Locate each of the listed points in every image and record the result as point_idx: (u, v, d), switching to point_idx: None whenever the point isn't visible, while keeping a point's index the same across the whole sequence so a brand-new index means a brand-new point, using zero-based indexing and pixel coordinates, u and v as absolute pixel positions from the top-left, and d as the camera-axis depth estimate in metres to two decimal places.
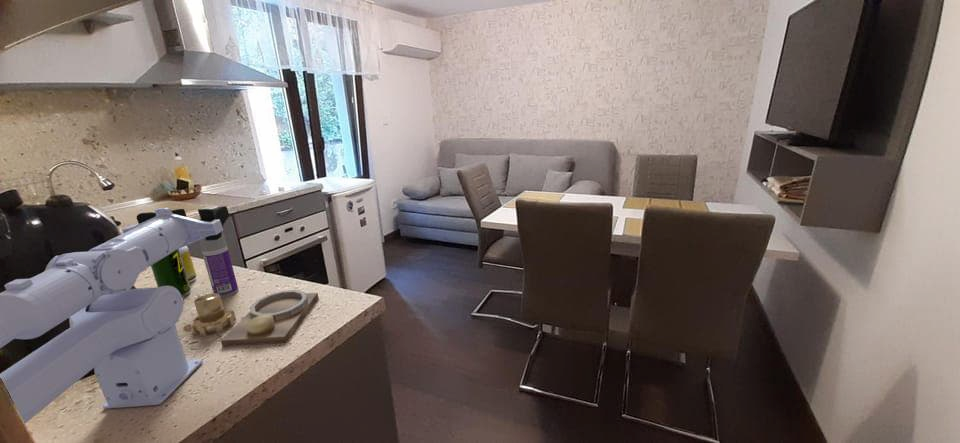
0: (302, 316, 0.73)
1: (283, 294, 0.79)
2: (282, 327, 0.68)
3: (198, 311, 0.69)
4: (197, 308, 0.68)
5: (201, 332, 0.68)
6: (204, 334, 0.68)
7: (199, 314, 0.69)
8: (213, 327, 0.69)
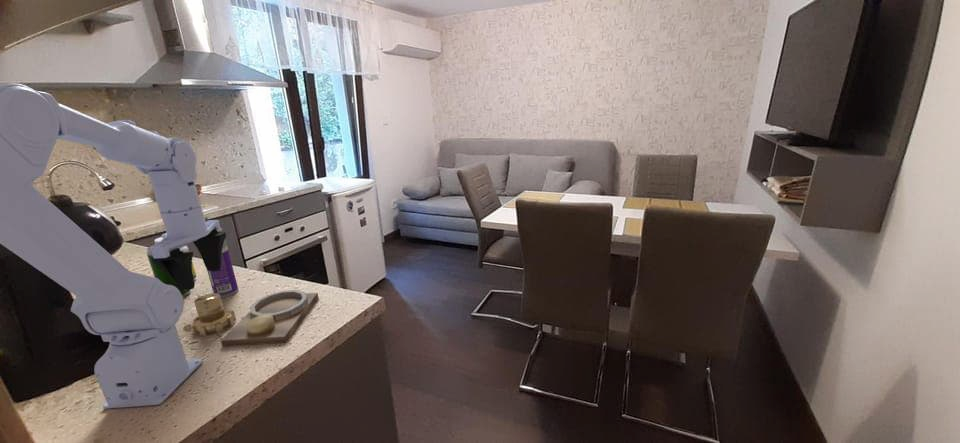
0: (302, 316, 0.73)
1: (283, 294, 0.79)
2: (282, 327, 0.68)
3: (198, 311, 0.69)
4: (197, 308, 0.68)
5: (201, 332, 0.68)
6: (204, 334, 0.68)
7: (199, 314, 0.69)
8: (213, 327, 0.69)
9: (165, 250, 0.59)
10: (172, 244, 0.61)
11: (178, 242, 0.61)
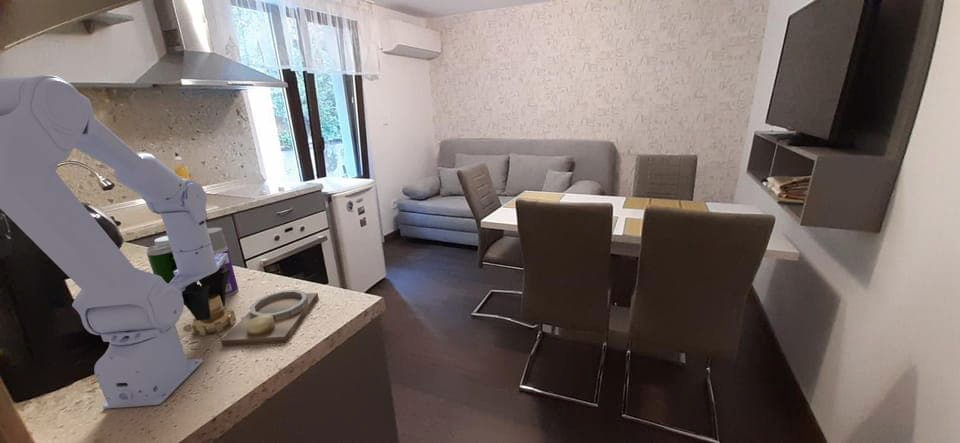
0: (302, 316, 0.73)
1: (283, 294, 0.79)
2: (282, 327, 0.68)
3: None
4: None
5: (201, 332, 0.68)
6: (204, 334, 0.68)
7: None
8: (212, 327, 0.69)
9: (177, 289, 0.61)
10: (184, 283, 0.63)
11: (190, 280, 0.64)
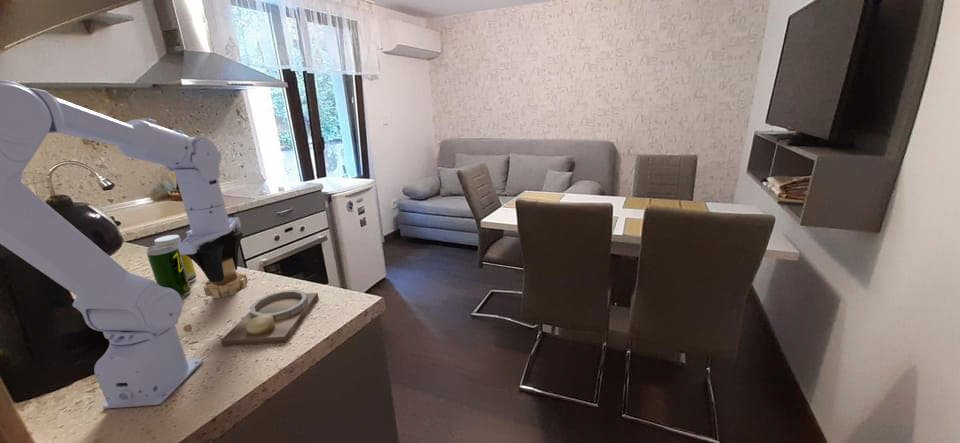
0: (302, 316, 0.73)
1: (283, 294, 0.79)
2: (282, 327, 0.68)
3: None
4: None
5: (214, 293, 0.67)
6: (217, 296, 0.67)
7: None
8: (226, 289, 0.68)
9: (192, 246, 0.61)
10: (199, 241, 0.62)
11: (204, 239, 0.63)
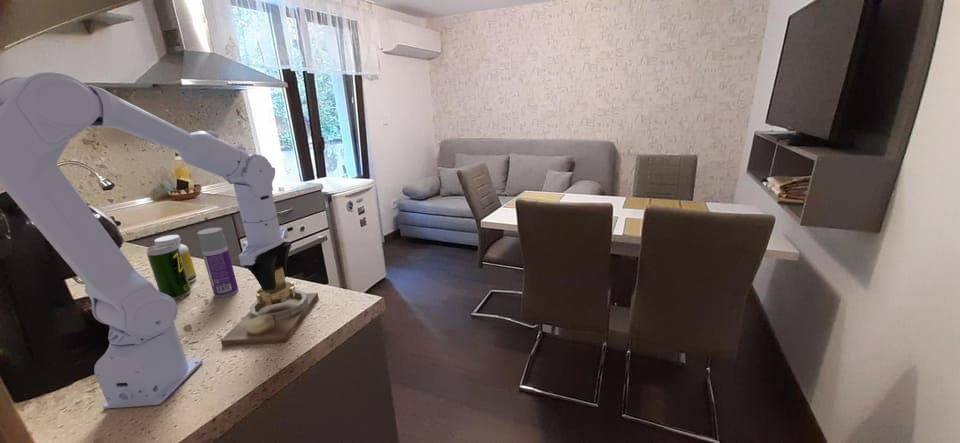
0: (302, 316, 0.73)
1: None
2: (282, 327, 0.68)
3: None
4: None
5: (267, 301, 0.71)
6: (270, 303, 0.71)
7: None
8: (277, 297, 0.71)
9: (251, 257, 0.64)
10: (256, 252, 0.65)
11: (261, 250, 0.66)
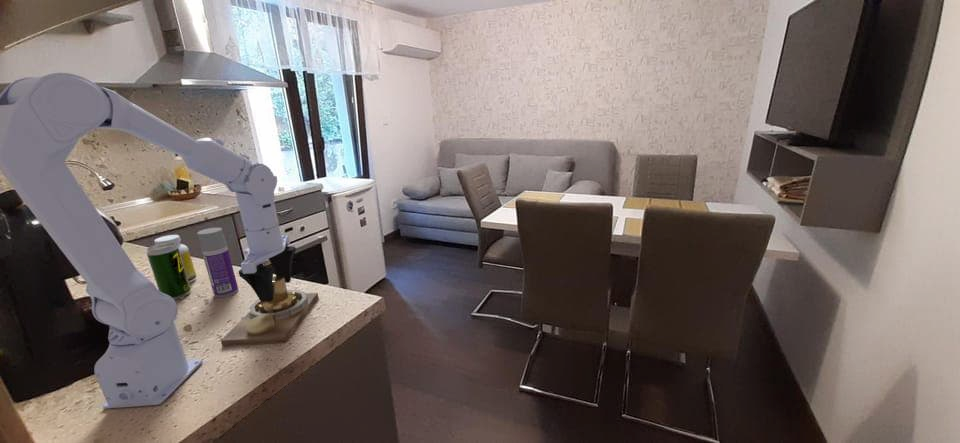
0: (302, 316, 0.73)
1: None
2: (282, 327, 0.68)
3: None
4: None
5: (269, 312, 0.71)
6: None
7: None
8: (280, 308, 0.72)
9: (253, 266, 0.65)
10: (258, 260, 0.66)
11: (263, 258, 0.67)
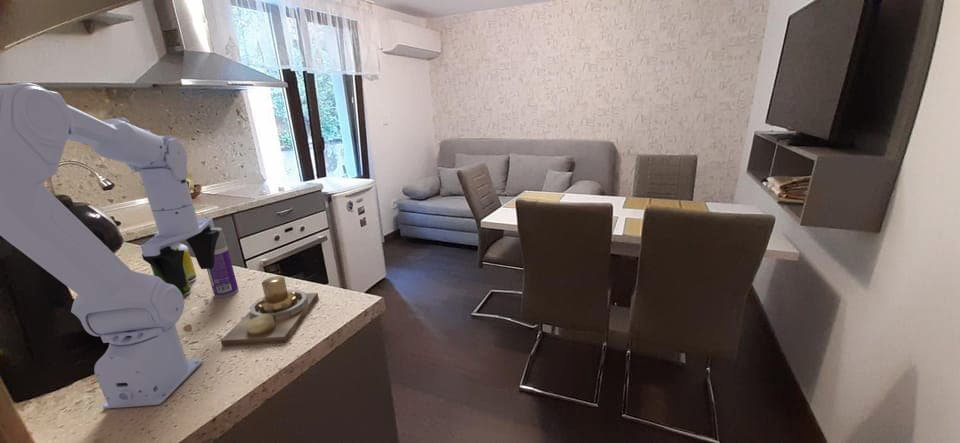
0: (302, 316, 0.73)
1: None
2: (282, 327, 0.68)
3: (266, 292, 0.72)
4: (265, 289, 0.72)
5: (269, 312, 0.71)
6: None
7: (267, 295, 0.72)
8: (280, 308, 0.72)
9: (155, 248, 0.59)
10: (162, 242, 0.60)
11: (169, 240, 0.61)
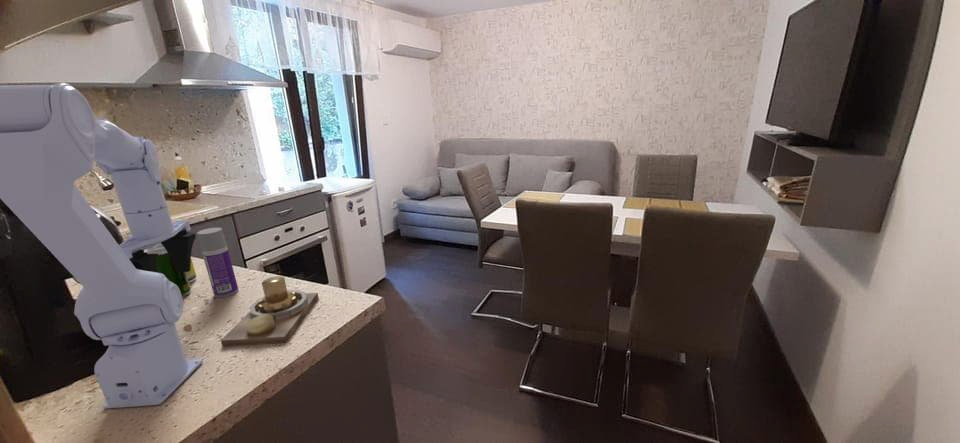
0: (302, 316, 0.73)
1: None
2: (282, 327, 0.68)
3: (266, 292, 0.72)
4: (265, 289, 0.72)
5: (269, 312, 0.71)
6: None
7: (267, 295, 0.72)
8: (280, 308, 0.72)
9: (127, 251, 0.58)
10: (135, 245, 0.59)
11: (141, 243, 0.60)
